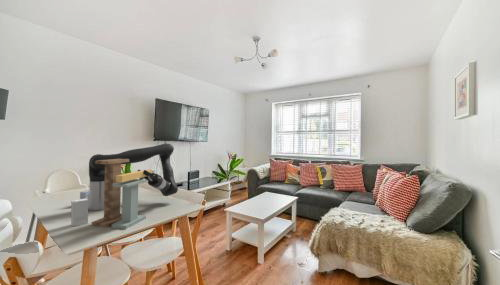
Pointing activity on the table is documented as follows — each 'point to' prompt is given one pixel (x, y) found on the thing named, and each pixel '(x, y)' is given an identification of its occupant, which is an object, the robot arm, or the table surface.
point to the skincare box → (79, 212)
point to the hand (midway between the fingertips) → (141, 171)
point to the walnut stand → (111, 193)
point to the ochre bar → (131, 176)
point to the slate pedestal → (129, 204)
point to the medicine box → (84, 195)
